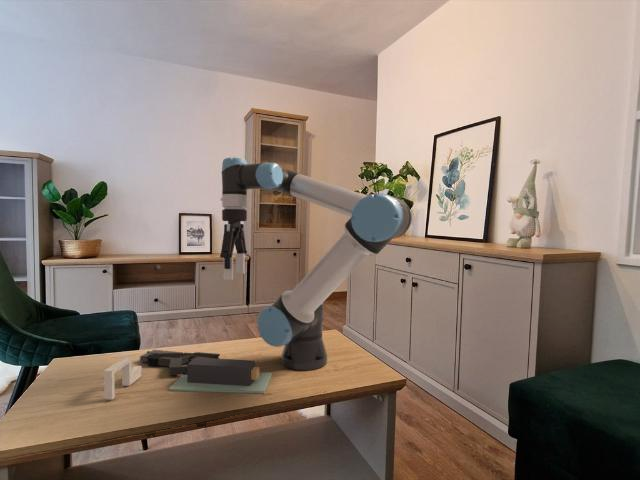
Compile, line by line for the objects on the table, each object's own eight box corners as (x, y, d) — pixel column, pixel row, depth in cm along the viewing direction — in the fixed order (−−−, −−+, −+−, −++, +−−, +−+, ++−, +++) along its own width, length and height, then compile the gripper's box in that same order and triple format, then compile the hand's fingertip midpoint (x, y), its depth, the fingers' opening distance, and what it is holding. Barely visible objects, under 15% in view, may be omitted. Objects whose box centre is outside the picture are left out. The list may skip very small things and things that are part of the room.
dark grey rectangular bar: (260, 378, 105) (260, 360, 105) (255, 386, 100) (255, 368, 99) (195, 374, 107) (195, 357, 107) (187, 382, 102) (187, 364, 101)
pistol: (197, 370, 104) (222, 353, 119) (120, 362, 109) (153, 347, 124) (197, 377, 104) (221, 360, 119) (120, 370, 109) (153, 354, 124)
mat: (271, 374, 109) (271, 372, 109) (264, 393, 97) (264, 391, 97) (186, 372, 110) (186, 370, 110) (168, 390, 98) (168, 388, 98)
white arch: (141, 376, 106) (141, 351, 106) (112, 399, 92) (111, 371, 92) (134, 375, 106) (134, 351, 106) (104, 399, 92) (104, 370, 92)
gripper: (233, 209, 126) (233, 270, 127) (208, 206, 101) (209, 282, 102) (255, 210, 125) (254, 271, 126) (235, 207, 100) (235, 283, 101)
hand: (234, 276), depth 114 cm, fingers open, 13 cm apart
